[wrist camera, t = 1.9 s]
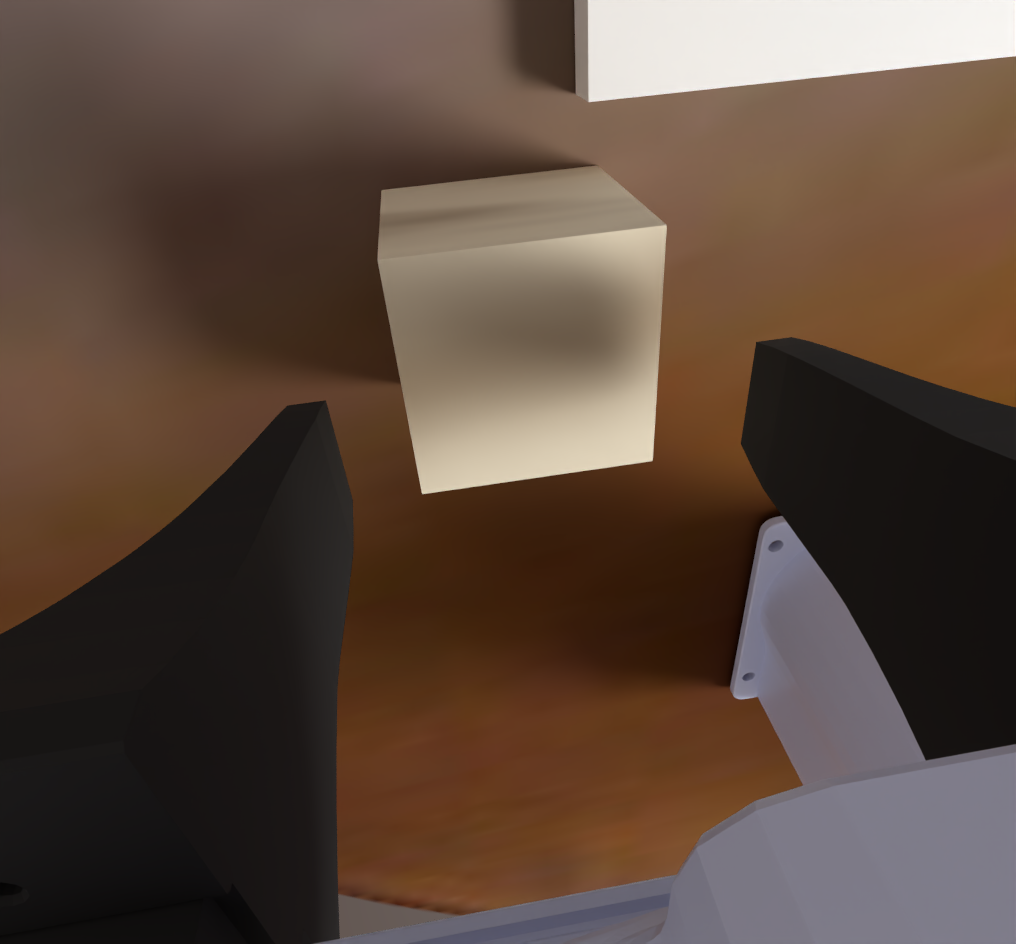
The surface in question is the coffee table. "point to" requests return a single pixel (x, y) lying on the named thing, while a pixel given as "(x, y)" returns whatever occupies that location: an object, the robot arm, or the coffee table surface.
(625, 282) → the birch cube
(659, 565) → the coffee table surface
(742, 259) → the coffee table surface
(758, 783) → the coffee table surface
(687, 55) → the plinth base
